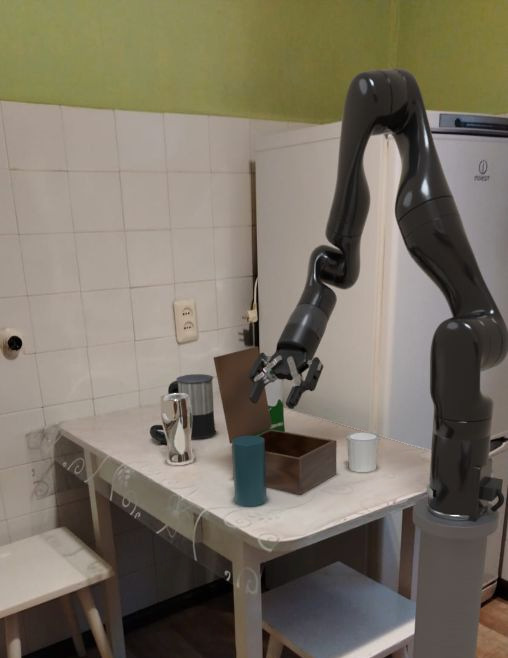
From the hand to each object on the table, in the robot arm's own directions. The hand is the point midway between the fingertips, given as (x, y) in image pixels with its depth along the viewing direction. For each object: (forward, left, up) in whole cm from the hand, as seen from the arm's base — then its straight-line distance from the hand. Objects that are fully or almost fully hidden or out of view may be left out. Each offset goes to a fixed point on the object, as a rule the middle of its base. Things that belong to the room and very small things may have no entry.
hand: (270, 403), depth 121 cm
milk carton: (+21, -26, -17) cm, 38 cm away
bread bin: (+2, -7, -17) cm, 19 cm away
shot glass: (-9, -20, -17) cm, 28 cm away
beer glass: (+28, -3, -17) cm, 33 cm away
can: (0, +7, -17) cm, 19 cm away
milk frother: (+40, -17, -17) cm, 47 cm away
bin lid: (+11, -7, -1) cm, 13 cm away
